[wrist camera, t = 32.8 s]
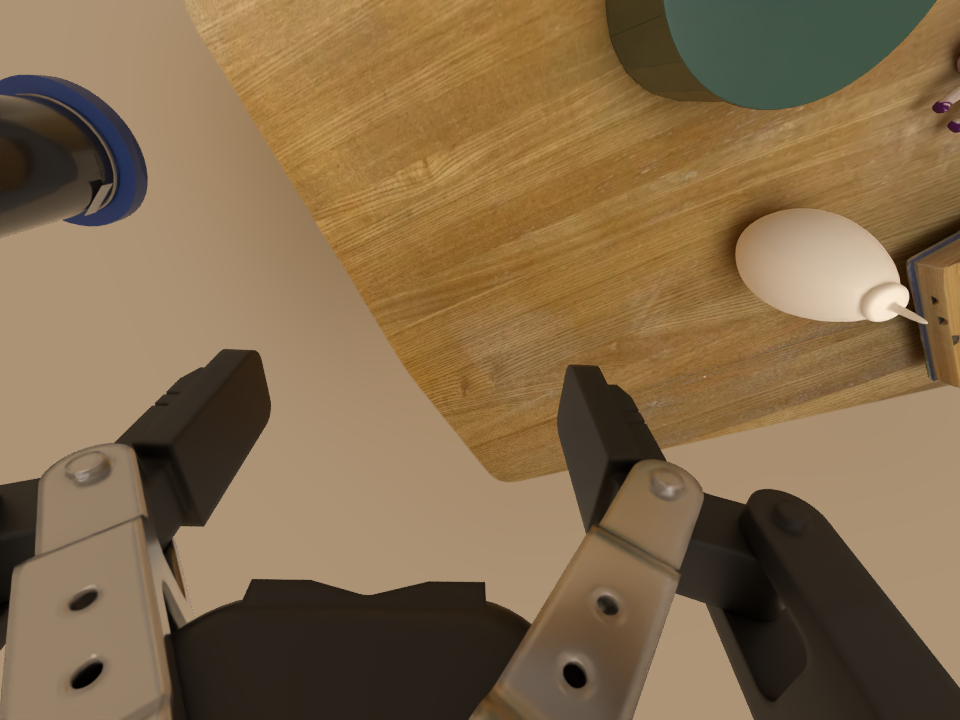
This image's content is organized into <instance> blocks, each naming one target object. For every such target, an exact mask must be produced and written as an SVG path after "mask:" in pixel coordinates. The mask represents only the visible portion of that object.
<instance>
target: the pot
mask: <svg viewBox="0 0 960 720" xmlns="http://www.w3.org/2000/svg"><path fill="white" fill-rule="evenodd" d="M606 13H607V23H608V28H609V33H610V38H611V41H612V44H613V46H614V49H615V52H616V54H617V56H618V58H619V60H620V62H621V64H622V65H623V67H624V68H625V70H626V71H627V72H628V74H629V75H630V76H631V77H632V78H633V79H634V80H635V81H636V82H637V83H638V84H640V85H641V86H642V87H643V88H645V89H646V90H648V91H649V92H651V93H654V94H656V95H659V96H662V97H665V98H670V99H673V100H677V101H703V102H724V101H722V100H720V99H718V98H716V97H715V96H713V95H711V94H709V93H708V92H707V91H706V90H705V89H703V88H702V87H701V86H700V85H698V84H697V83H696V82H695V81H694V79H693V78H692V77H691V76H690V75H689V74H688V72H687V71H686V70H685V69H684V67H683V65H682V64H681V62H680V60H679V59H678V57H677V56H676V54H675V51H674V49H673V47H672V45H671V42H670V40H669V38H668V35H667V31H666V28H665V24H664V20H663V17H662V11H661V5H660V0H606Z"/></svg>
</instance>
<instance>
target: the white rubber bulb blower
mask: <svg viewBox="0 0 960 720" xmlns="http://www.w3.org/2000/svg"><path fill="white" fill-rule="evenodd" d="M735 256H736V265H737V268H738V272H739V274H740V276H741V278H742V280H743V281H744V283H745V284H746V286H747V287H748V288H749V289H750V290H751V291H752V292H753V293H754V294H755V295H756V296H757V297H758V298H759V299H761V300H762V301H764V302H765V303H767V304H769V305H771V306H773V307H774V308H776V309H778V310H781V311H783V312H785V313H788V314H791V315H795V316H799V317H803V318H808V319H813V320H819V321H830V322H851V321H859V320H865V319H868V320H870V321H874V322H881V321H886V320H889V319H892V318H894V317H895V316H897V315H898V314H899V315H902V316H904V317H906V318H908V319H911V320H913V321H916V322H919V323H922V324H928V322H927V321H926V320H925V319H923V318H922V317H920V316H919V315H917V314H915V313H914V312H912V311H910V310H908V309H906V306H907V304H908V301H909V292H908V290H907V288H906V287H905V286H903V285H901V284H900V277H899V274H898V271H897V269H896V266H895V264H894V262H893V260H892V259H891V257H890V255H889V254H888V253H887V251H886V250H885V249H884V247H883V246H882V245H881V244H880V243H879V241H878V240H877V239H876V238H875V237H874V236H872V235H871V234H870V233H869V232H868V231H866V230H865V229H864V228H862V227H861V226H859V225H858V224H856V223H854V222H853V221H851V220H849V219H847V218H845V217H843V216H841V215H838V214H835V213H831V212H827V211H823V210H819V209H812V208H793V209H787V210H782V211H777V212H774V213H771V214H769V215H766V216H764V217H762V218H760V219H758V220H756V221H755V222H753V223H752V224H750V225H749V226H748V227H747V228H746V229H745V230H744V231H743V232H742V234H741V235H740V237H739V239H738V241H737V245H736V252H735Z"/></svg>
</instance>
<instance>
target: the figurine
mask: <svg viewBox="0 0 960 720" xmlns="http://www.w3.org/2000/svg"><path fill="white" fill-rule="evenodd" d="M957 69H958V72H960V57H959V58H958V61H957ZM958 100H960V85H959V86H958V87H956V88H954V89H953V90H952V91H950V92H949V93H948V94H947V95H945V96H944V97H943V98H942V99H940V100H939V101H938V102H936V103H935V104H934V105H933V107H932V109H933V111H934V112H936V113H944V112H947V111H948V110H949V108H950V106H951V105H952V104H953V103H955V102H956V101H958ZM947 127H948V128H949V129H950V130H951V131H952V132H954V133H957V132H960V117H958V118H957V119H954V120H952V121H951V122H950V123H948V125H947Z"/></svg>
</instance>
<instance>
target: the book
mask: <svg viewBox="0 0 960 720" xmlns="http://www.w3.org/2000/svg"><path fill="white" fill-rule="evenodd" d="M906 270H907V277H908V281H909V285H910V286H909V287H910V290H911V293H912V297H913V303H914V306H915V311H916V314H917V315H919V316H920V317H922V318H923V319H925V320H926V321H927V322H928V324H922V323H919V322H918V325H919V329H920V339H921V341H922V346H923V349H924V355H925V364H926V369H927V373H928V377H929V378H930V380H931V379H932V380H933V381H936V380H937V379H938V380H941V381H943V382H945V383H947V384H949V385H952V386H955V387H959V388H960V231H958V232H957V233H955V234H953V235H951V236H949V237H947V238H945V239H943V240H942V241H940V242H938V243H936V244H935V245H933V246H931V247H929V248H927V249H925V250H923V251H921V252H919V253H918V254H916V255H914V256H912V257H911V258H909V259H908V260H907V262H906Z"/></svg>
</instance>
